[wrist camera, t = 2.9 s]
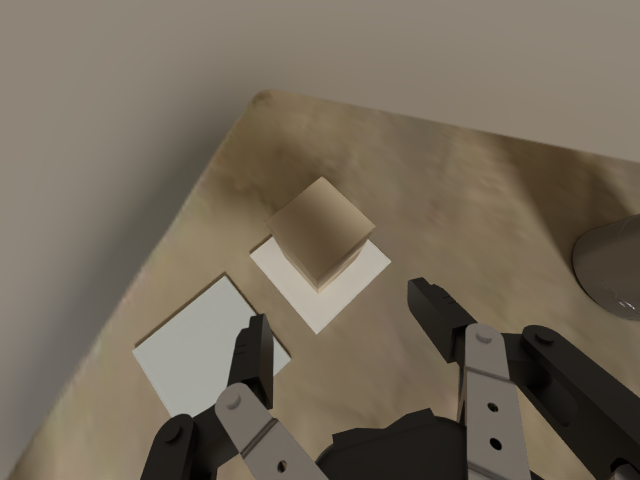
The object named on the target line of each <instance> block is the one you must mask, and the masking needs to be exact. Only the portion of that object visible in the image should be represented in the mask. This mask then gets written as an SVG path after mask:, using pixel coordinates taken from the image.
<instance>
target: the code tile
mask: <svg viewBox="0 0 640 480" xmlns="http://www.w3.org/2000/svg"><path fill="white" fill-rule="evenodd" d="M250 257H251V258H252V259H253V260H254V261H255V262H256V264H257V265H258V266H259V267H260V268H261V270H262V271H263V272H264V273H265V274H266V275H267V277H268V278H269V279H270V280H271V281H272V283H273V284H274V285H275V286H276V287H277V288H278V290H279V291H280V292H281V293H282V294H283V295H284V297H285V298H286V299H287V300H288V301H289V303H290V304H291V305H292V306H293V307H294V308H295V310H296V311H297V312H298V313H299V314H300V316H301V317H302V318H303V319H304V320H305V321H306V323H307V324H308V325H309V326H310V327H311V329H312V330H313V331H314V332H315V333H316V334H318V333H319V332H320V331H321V330H322V329H323V328H324V327H325V326H326V325H327V324H328V323H329V322H330V321H331V320H332V319H333V318H334V317H335V316H336V315H337V314H338V313H339V312H340V311H341V310H342V309H343V308H344V307H345V306H346V305H347V304H348V303H349V302H350V301H351V300H353V299H354V298H355V297H356V296H357V295H358V294H359V293H360V292H361V291H362V290H363V289H364V288H365V287H366V286H367V285H368V284H369V283H370V282H371V281H372V280H373V279H374V278H375V277H376V276H377V275H378V274H379V273H380V272H381V271H382V270H383V269H384V268H385V267H386V266H387V265H388V264H389V263H390V262H391V261H390V260H389V259H388V258H387V257H386V256H385V255H384V254H383V253H382V252H381V251H380V250H379V249H378V248H377V247H376V246H375V245H374V244H373V243H372V242H371V241H370V240H369V239H368V240H367V242H366V243H365V245H364V247H363V248H362V250H361V252H360V253H359V255H358V257H357V259H356V260H355V261H354V262H353V263H352V264H351V265H350V266H349V267H348V268H346V269H345V270H344V271H343V272H342V273H341V274H340V275H339V276H338V277H337V278H336V279H335V280H334V281H332V282H331V283H330V284H329V285H328V286H327V287H326V288H325V289H324V290H323V291H322V292H321V293H320V294H319V295H318V294H317V292H316V291H315V290H314V289H313V288H312V287H311V286H310V285H309V283H308V282H307V281H306V280H305V279H304V278H303V277H302V276H301V275H300V273H299V272H298V271H297V270H296V269H295V268H294V267H293V266H292V264H291V263H290V262H289V261H288V260H287V259H286V258H285V256H284V255H283V253H282V251H281V250H280V248H279V246H278V244H277V243H276V241H275V239H274V237H271V238H270V239H269V240H268V241H267V242H265V243H264V244H263V245H262V246H260V247H259V248H258V249H257V250H256V251H254V252H253V253H252V254H251V255H250Z"/></svg>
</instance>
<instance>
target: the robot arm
mask: <svg viewBox="0 0 640 480" xmlns="http://www.w3.org/2000/svg"><path fill="white" fill-rule="evenodd" d="M572 259H573V267H574V270H575V273H576V276H577V278H578V280H579V282H580V283H581V285H582V287H583V288H584V289H585V291H586V292H587V293H588V294H589V296H590V297H591V298H592V299H593V300H595V301H596V302H597V303H598V304H599V305H600V306H602V307H603V308H605V309H606V310H608V311H609V312H611V313H613V314H615V315H617V316H619V317H622V318H625V319H629V320H634V321H640V214H637V215H634V216H631V217H628V218H625V219H622V220H619V221H616V222H613V223H612V224H609V225H606V226H603V227H600V228H597V229H594V230H591V231H588V232H587V233H585V234H584V235H582V236H581V237H580V238H579V239H578V241H577V242H576V244H575V247H574V249H573V257H572ZM407 301H408V306H409V309H410V311H411V313H412V314H413V316H414V317H415V319H416V320H417V321H418V323H419V324H420V326H421V327H422V328H423V330H424V331H425V333H426V334H427V335H428V337H429V338H430V340H431V341H432V342H433V344H434V345H435V347H436V348H437V349H438V351H439V352H440V354H441V355H442V356H443V358H444V359H445V361H446V362H447V363H452V362H457V364H458V365H459V366H460V367H459V384H458V410H457V421H454V420H451V419H448V418H444V417H439V416H434V414H433V413H432V411H431V409H430V408H427V409H424V410H420V411H417V412H413V413H409V414H406V415H405V416H403V417H402V418H400V419H399V420H397V421H396V422H394V423H393V424H391V425H390V426H388V427H387V428H384V429H372V428H355V429H351V430H347V431H344V432H340V433H336V434H333V435H332V437H333V444H331V445H330V446H329V447H327V448H326V449H325V450H324V451H323V452H322V453H321V454H320V456H319V457H318V458H317V460H316V461H315V463H314V461H313V460H312V459H311V458H310V457H309V455H308V454H307V453H306V452H305V451H304V449H303V448H302V447H301V446H300V445H299V444H298V442H297V441H296V440H295V439H294V438H293V436H292V435H291V434H290V433H289V432H288V430H287V429H286V428H285V427H284V426H283V424H282V423H281V422H280V421H279V420H278V419H277V418H273V417H272V415H271V414H270V413H269V412H268V411H267V410H269V409H273V366H274V340H273V335H272V331H271V329H270V326H269V323H268V320H267V317H266V315H265V313H264V314H259V315H255V316H251V317H250V321H249V327H248V328H243V329H241V331H240V333H239V334H238V336H237V337H236V341H235V349H234V352H233V357H232V362H231V367H230V372H229V377H228V382H227V387H226V389H225V390H224V391H223V392H222V393H221V394H220V395H219V397H218V399H217V401H216V403H215V404H214V405H213V406H211V407H210V408H208V409H206V410H205V411H203V412H201V413H199V414H198V415H196V416H194V417H193V418H192V417H191V416H190V415H189V414H179V415H176V416H174V417H172V418H171V419H169V420H168V421H167V422H166V423H165V424H164V425H163V426H162V427H161V428H160V430H159V431H158V433H157V434H156V436H155V438H154V441H153V444H152V447H151V449H150V452H149V455H148V458H147V461H146V464H145V467H144V470H143V473H142V475H141V478H140V480H216V477H217V469H218V467H220V466H221V465H222V464H224V463H225V462H227V461H228V460H230V459H231V458H233V457H234V456H236V455H237V454H239V453H240V454H241V456H242V458H243V460H244V461H245V463H246V465H247V466H248V468H249V470H250V471H251V473H252V475H253V476H254V478H255V479H256V480H544V479H543V478H541V477H540V476H538V475H537V474H535V473H534V472H532V471H531V470H530V469H529V463H528V457H527V451H526V445H525V439H524V433H523V427H522V421H521V415H520V409H519V403H518V396H517V390H516V386H515V385H517V386H518V388H519V389H520V390H521V391H522V392H523V394H524V395H525V396H526V397H527V398H528V399H529V401H530V402H531V403H532V404H533V405H534V407H535V408H536V409H537V410H538V411H539V412H540V414H541V415H542V416H543V417H544V418H545V420H546V421H547V422H548V423H549V424H550V425H551V427H552V428H553V429H554V430H555V431H556V432H557V434H558V435H559V436H560V437H561V438H562V440H563V441H564V442H565V443H566V444H567V445H568V447H569V448H570V449H571V450H572V451H573V453H574V454H575V455H576V456H577V457H578V458H579V460H580V461H581V462H582V463H583V464H584V466H585V467H586V468H587V469H588V470H589V471H590V473H591V474H592V475H593V476H594V477H595V479H596V480H640V398H639V397H638V396H637V395H635V394H634V393H633V392H632V391H630V390H629V389H628V388H627V387H625V386H624V385H623V384H622V383H620V382H619V381H618V380H617V379H615V378H614V377H613V376H611V375H610V374H609V373H608V372H606V371H605V370H604V369H603V368H601V367H600V366H599V365H598V364H596V363H595V362H594V361H593V360H591V359H590V358H589V357H588V356H586V355H585V354H584V353H583V352H581V351H580V350H579V349H578V348H576V347H575V346H574V345H573V344H571V343H570V342H569V341H568V340H566V339H565V338H564V337H563V336H561V335H560V334H559V333H557V332H555V331H554V330H552V329H549V328H547V327H544V326H539V325H529V326H526V327H525V328H524V329H523V332H522V334H511V333H499V332H498V331H497V330H496V329H494V328H493V327H491V326H488V325H485V324H480V323H478V322H477V321H476V320H475V319H474V318H473V317H472V316H471V315H470V314H469V313H468V312H467V311H466V310H465V309H463V308H462V307H461V306H460V305H459V304H458V303H456V301H455V300H454V299H453V298H452V297H451V296H450V295H449V294H448V293H447V292H446V291H445V290H444V289H443V288H441V287H439V286H437V285H435V284H433V285H430V284H429V283H428V282H427V281H426V280H425V279H424V278H423V277H421V278H416V279H412V280H409V281H408V299H407Z"/></svg>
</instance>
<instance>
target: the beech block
mask: <svg viewBox="0 0 640 480" xmlns="http://www.w3.org/2000/svg"><path fill="white" fill-rule="evenodd" d="M265 223H266V225H267V227H268V229H269V230H270V232H271V234H272V236H273V237H274V239H275V241H276V243H277V244H278V246H279V248H280V250H281V251H282V253H283V255H284V256H285V258H286V259H287V260H288V261H289V262H290V263H291V264H292V266H293V267H294V268H295V269H296V270H297V271H298V272H299V273H300V275H301V276H302V277H303V278H304V279H305V280H306V281H307V282H308V283H309V285H310V286H311V287H312V288H313V289H314V290H315V291H316V292H317V294H318V295H319V294H320V293H321V292H322V291H323V290H324V289H325V288H326V287H327V286H328V285H329V284H330V283H331V282H332V281H334V280H335V279H336V278H337V277H338V276H339V275H340V274H341V273H342V272H343V271H344V270H345V269H346V268H348V267H349V266H350V265H351V264H352V263H353V262H354V261H355V260H356V259H357V257H358V255H359V253H360V252H361V250H362V248H363V247H364V245H365V243H366V242H367V240H368V238H369V236H370V235H371V233H372V231H373V230H374V228H375V225H374V224H373V223H372V222H371V221H369V220H368V219H367V218H366V217H365V216H364V215H363V214H362V213H361V212H360V211H359V210H358V209H357V208H356V207H355V206H354V205H352V204H351V203H350V202H349V201H348V200H347V199H346V198H345V197H344V196H343V195H342V194H341V193H340V192H339V191H338V190H337V189H335V188H334V187H333V186H332V185H331V184H330V183H329V182H328V181H327V180H326V179H325V178H324V177H323V176H321V177H320V178H319V179H318V180H316V181H315V182H314V183H313V184H311V185H310V186H309V187H308V188H306V189H305V190H304V191H303V192H301V193H300V194H299V195H298V196H296V197H295V198H294V199H292V200H291V201H290V202H289V203H287V204H286V205H285V206H284V207H282V208H281V209H280V210H279V211H277V212H276V213H275V214H274V215H272V216H271V217H270V218H269V219H267V220H266V221H265Z"/></svg>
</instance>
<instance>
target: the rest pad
mask: <svg viewBox="0 0 640 480" xmlns="http://www.w3.org/2000/svg"><path fill="white" fill-rule="evenodd" d="M255 315H257V314H256V313H255V312H254V310H253V309H252V308H251V307H250V305H249V304H248V303H247V302H246V300H245V299H244V298H243V297H242V295H241V294H240V293H239V291H238V290H237V289H236V288H235V286H234V285H233V284H232V283H231V281H230V280H229V279H228V278H227V276H224V277H222V278H221V279H220V280H219V281H218V282H216V283H215V284H214V285H213V286H211V287H210V288H209V289H208V290H207V291H205V292H204V293H203V294H202V295H200V296H199V297H198V298H197V299H196V300H194V301H193V302H192V303H191V304H189V305H188V306H187V307H186V308H185V309H183V310H182V311H181V312H180V313H178V314H177V315H176V316H175V317H174V318H172V319H171V320H170V321H169V322H167V323H166V324H165V325H164V326H163V327H161V328H160V329H159V330H158V331H156V332H155V333H154V334H153V335H152V336H150V337H149V338H148V339H147V340H145V341H144V342H143V343H142V344H140V345H139V346H138V347H137V348H136V349H134V350H133V351H132V352H133V354H134V356H135V357H136V359H137V361H138V362H139V364H140V365H141V367H142V369H143V370H144V372H145V374H146V375H147V377H148V379H149V380H150V382H151V384H152V385H153V387H154V389H155V390H156V392H157V394H158V395H159V397H160V399H161V400H162V402H163V404H164V405H165V407H166V408H167V410H168V412H169V413H170V415H171V417H174V416H176V415H179V414H189V415H190V416H191V417H192V418H193V417H194V416H196V415H198V414H199V413H201V412H203V411H205V410H206V409H208V408H210V407H211V406H213V405H214V404H215V403H216V401H217V399H218V397H219V395H220V394H221V393H222V392H223V391H224V390H225V389H226V387H227V382H228V377H229V372H230V367H231V362H232V357H233V352H234V349H235V341H236V337H237V336H238V334H239V333H240V331H241V329H243V328H248V327H249V321H250V317H251V316H255ZM272 335H273V334H272ZM273 340H274V366H273V377H274V376H275V375H276V374H277V373H278V372H279V371H280V370H281V369H282V368H283V367H284V366H285V365H286V364H287V363H288V362H289V361H290V360H291V359H292V358H291V357H290V356H289V355H288V353H287V352H286V351H285V350H284V348H283V347H282V346H281V345H280V343H279V342H278V341H277V339H276V338H275V337H274V336H273Z"/></svg>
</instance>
